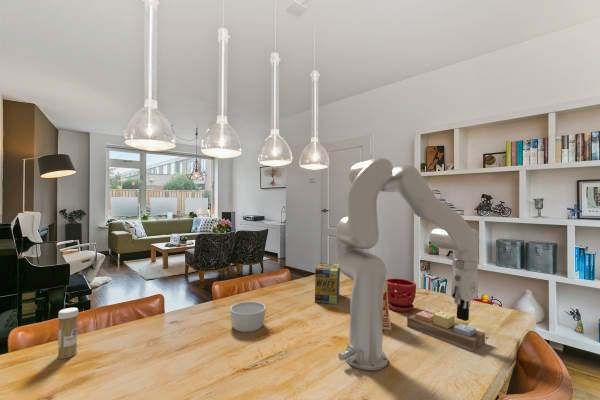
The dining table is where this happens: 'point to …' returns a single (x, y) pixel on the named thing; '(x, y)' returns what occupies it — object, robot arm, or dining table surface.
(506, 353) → the dining table surface
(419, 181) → the robot arm
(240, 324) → the ramekin
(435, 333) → the wooden tile rack
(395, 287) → the plant pot
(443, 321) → the tile
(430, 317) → the three-pip tile
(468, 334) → the tile
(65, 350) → the sprinkles bottle
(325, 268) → the protein box
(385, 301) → the milk carton
